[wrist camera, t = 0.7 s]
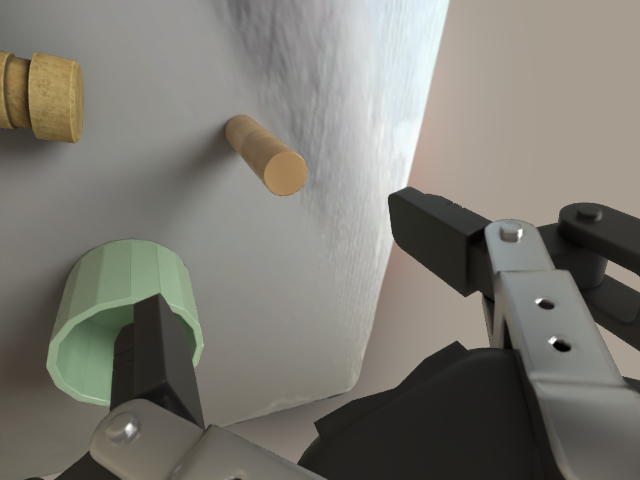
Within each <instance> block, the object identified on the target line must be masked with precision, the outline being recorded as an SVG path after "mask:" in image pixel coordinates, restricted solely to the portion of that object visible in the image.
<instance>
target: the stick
mask: <svg viewBox="0 0 640 480" xmlns="http://www.w3.org/2000/svg"><path fill="white" fill-rule="evenodd" d="M225 134H226V138H227V140H228V141H229V143H230V144H231V145H232V146H233V147H234V149H235V150H236V151H237V152H238V153H239V155H240V156H241V157H242V158H243V159H244V161H245V162H246V163H247V164H248V166H249V167H250V168H251V169H252V170H253V172H254V173H255V174H256V175H257V176H258V178H259V179H260V180H261V181H262V182H263V184H264V185H265V186H266V187H267V188H268V190H269V191H270V192H272V193H273V194H275V195H279V196H288V195H291V194H294V193H295V192H297V191H298V190H299V189H300V188H301V187H302V186H303V185H304V183H305V181H306V178H307V166H306V163H305V161H304V160H303V158H302V157H301V156H300V155H298V154H297V153H296V152H294V151H293V150H292V149H290V148H289V147H288V146H286V145H285V144H284V143H283V142H281V141H280V140H279V139H277V138H276V137H275V136H273V135H272V134H271V133H270V132H268V131H267V130H266V129H264V128H263V127H262V126H260V125H259V124H258V123H257V122H255V121H254V120H253V119H251V118H250V117H248V116H245V115H238V116H235V117H233V118H231V119H230V120H229V122H228V123H227V125H226V129H225Z"/></svg>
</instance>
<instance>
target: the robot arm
mask: <svg viewBox="0 0 640 480" xmlns="http://www.w3.org/2000/svg"><path fill="white" fill-rule="evenodd" d="M388 205H389V213H390V221H391V229H392V234H393V237H394V240H395V241H396V243H397V244H398V246H399V247H400V248H401V249H403V250H404V251H405V252H407V253H408V254H409V255H411V256H412V257H413V258H415V259H416V260H417V261H418V262H420V263H421V264H422V265H424V266H425V267H426V268H428V269H429V270H430V271H432V272H433V273H434V274H436V275H437V276H438V277H439V278H441V279H442V280H443V281H444V282H446V283H447V284H448V285H450V286H451V287H452V288H454V289H455V290H456V291H458V292H459V293H460V294H462V295H463V296H464V297H467V296H469V295H470V294H472V293H474V292H476V291H480V292H481V293H482V305H483V310H484V315H485V321H486V326H487V331H488V337H489V342H490V347H489V348H477V349H471V350H467V349H466V348H464V346H462V345H461V344H460V343H459V342H458V341H455V342H454V343H452V344H450V345H448V346H447V347H445V348H443V349H441V350H440V351H438V352H436V353H434V354H433V355H431V356H429V357H427V358H426V359H424V360H423V361H422V362H421V363H420V364H419V365H418V366H417V367H416V368H415V369H414V370H413V371H412V372H411V373H410V374H409V375H408V376H407V378H406V379H405V380H403V381H402V383H401V384H400V385H398V386H397V387H396V388H394V389H391V390H387V391H384V392H380V393H377V394H374V395H370V396H367V397H363V398H360V399H356V400H353V401H351V402H349V403H347V404H345V405H344V406H342V407H340V408H338V409H337V410H335V411H333V412H331V413H330V414H328V415H326V416H324V417H323V418H321V419H319V420H318V421H316V422H314V424H315V427H316V429H317V432H318V434H319V436H318V437H317V438H316V439H315V440H314V441H313V442H312V443H311V445H310V446H309V447H308V448H307V449H306V451H305V452H304V453H303V455H302V457H301V458H300V460H299V461H298V463H297V464H295V463H293V462H291V461H289V460H287V459H285V458H283V457H281V456H279V455H277V454H275V453H273V452H271V451H269V450H266V449H265V448H262V447H260V446H258V445H256V444H254V443H252V442H250V441H248V440H246V439H244V438H242V437H240V436H238V435H236V434H234V433H232V432H230V431H228V430H226V429H224V428H222V427H220V426H217V425H213V424H210V425H209V426H208V427H207V429H205V426H204V420H203V415H202V409H201V404H200V399H199V393H198V388H197V382H196V377H195V372H194V366H193V361H192V356H191V350H190V345H189V342H188V339H187V336H186V334H185V332H184V330H183V328H182V326H181V325H180V323H179V321H178V320H177V318H176V316H175V315H174V313H173V312H172V310H171V308H170V307H169V305H168V303H167V302H166V300H165V298H164V297H163V295H162V294H161V293H157V294H155V295H153V296H150V297H148V298H146V299H143V300H141V301H139V302H136V303H135V304H134V322H133V323H130V324H128V325H126V326H124V327H122V329H121V330H120V332H119V334H118V336H117V338H116V340H115V342H114V352H113V357H114V359H113V371H112V383H111V399H110V413H109V414H108V415H107V416H105V417H104V419H103V420H102V421H101V422H100V423H99V425H98V426H97V428H96V429H95V431H94V433H93V435H92V438H91V441H90V448H89V449H90V450H89V451H88V452H87V453H86V454H85V455H84V456H83V457H82V458H81V459H80V460H78V461H77V462H76V463H75V464H73V465H72V466H71V467H69V468H68V469H67V470H66V471H64V472H63V473H62V474H61V475H60V476H58V477H57V478H56V479H54V480H640V380H636V379H631V378H628V377H624V376H621V374H620V372H619V370H618V368H617V366H616V364H615V362H614V360H613V358H612V356H611V354H610V352H609V350H608V348H607V346H606V344H605V342H604V340H603V338H602V336H601V334H600V332H599V330H598V328H597V326H596V324H595V322H596V323H598V324H599V325H601V326H602V327H604V328H605V329H607V330H608V331H610V332H611V333H613V334H614V335H616V336H617V337H619V338H620V339H622V340H623V341H625V342H626V343H628V344H629V345H631V346H632V347H634V348H636V349H637V350H639V351H640V293H639V292H638V291H636V290H634V289H632V288H630V287H628V286H626V285H624V284H623V283H621V282H619V281H617V280H615V279H613V278H612V277H610V276H608V275H606V274H604V273H605V269H606V266H607V262H608V260H610V261H612V262H614V263H616V264H618V265H620V266H622V267H624V268H626V269H628V270H630V271H632V272H634V273H636V274H637V275H638V276H639V277H640V219H638V218H636V217H633V216H631V215H628V214H625V213H623V212H620V211H618V210H615V209H612V208H610V207H607V206H604V205H600V204H596V203H574V204H570V205H567V206H565V207H564V208H562V209H561V211H560V214H559V219H558V223H554V224H549V225H545V226H540V227H535V226H533V225H532V224H530V223H528V222H525V221H522V220H516V219H503V220H498V221H495V222H492V221H490V220H487V219H486V218H484V217H482V216H480V215H478V214H476V213H474V212H472V211H470V210H468V209H466V208H462V207H461V206H460V205H458V204H456V203H454V204H453V202H452V201H450V200H448V199H445V198H444V197H442V196H437V195H432V194H424V193H422V192H420V191H418V190H416V189H414V188H412V187H406V188H404V189H401V190H399V191H397V192H394V193H392V194H390V195H389V197H388ZM594 321H595V322H594ZM25 480H44V479H41V478H36V477H34V478H28V479H25Z"/></svg>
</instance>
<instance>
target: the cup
mask: <svg viewBox="0 0 640 480" xmlns="http://www.w3.org/2000/svg"><path fill="white" fill-rule="evenodd" d="M157 293H161V294H162V295H163V297H164V298H165V300H166V302H167V303H168V305H169V307H170V308H171V310H172V312H173V313H174V315H175V316H176V318H177V320H178V321H179V323H180V325H181V326H182V328H183V330H184V332H185V334H186V336H187V339H188V342H189V345H190V350H191V356H192V361H193V366H194V368H195V367H196V366H197V364H198V362H199V359H200V356H201V352H202V349H203V346H204V343H203V338H202V333H201V328H200V323H199V318H198V314H197V309H196V304H195V300H194V295H193V291H192V286H191V281H190V277H189V272H188V270H187V268H186V266H185V264H184V263H183V261H182V260H181V259H180V258H179V257H178V255H176V254H175V253H174V252H173V251H171V250H170V249H168V248H166V247H164V246H162V245H160V244H157V243H154V242H151V241H146V240H138V239H126V240H118V241H113V242H109V243H106V244H103V245H101V246H99V247H97V248H95V249H93V250H91V251H90V252H88V253H87V254H85V255H84V256H83V257H82V258H81V259H80V260H79V261H78V262H77V263H76V264H75V266H74V267H73V269H72V270H71V273H70V274H69V276H68V278H67V282H66V285H65V289H64V292H63V296H62V300H61V303H60V307H59V311H58V314H57V318H56V321H55V325H54V329H53V332H52V336H51V339H50V343H49V349H48V355H47V362H46V368H47V370H48V372H49V374H50V376H51V378H52V380H53V382H54V384H55V386H56V387H57V388H59V389H60V390H62V391H63V392H65V393H66V394H68V395H69V396H71V397H73V398H74V399H76V400H78V401H82V402H87V403H91V404H96V405H101V406H110V399H111V383H112V371H113V359H114V357H113V352H114V342H115V340H116V338H117V336H118V334H119V332H120V330H121V329H122V327H124V326H126V325H128V324H130V323H133V322H134V304H135V303H136V302H139V301H141V300H143V299H146V298H148V297H150V296H153V295H155V294H157Z"/></svg>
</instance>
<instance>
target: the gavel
mask: <svg viewBox="0 0 640 480" xmlns="http://www.w3.org/2000/svg"><path fill="white" fill-rule="evenodd" d="M83 106H84V98H83V78H82V71H81V68H80V66H79V64H78V63H77V62H76V61H75V60H70V59H66V58H61V57H57V56H52V55H47V54H43V53H38V52H36V53H34V55H33V57H32V60H27V59H23V58H18V57H15V55H14V54H13V53H9V52H5V51H0V128H7V129H17V128H18V127H21V128H28V129H33V131H34V134H35V136H36V137H37V138H39V139H46V140H54V141H61V142H69V143H76V142H77V141H78V140H79V139H80V137H81V133H82V126H83Z"/></svg>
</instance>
